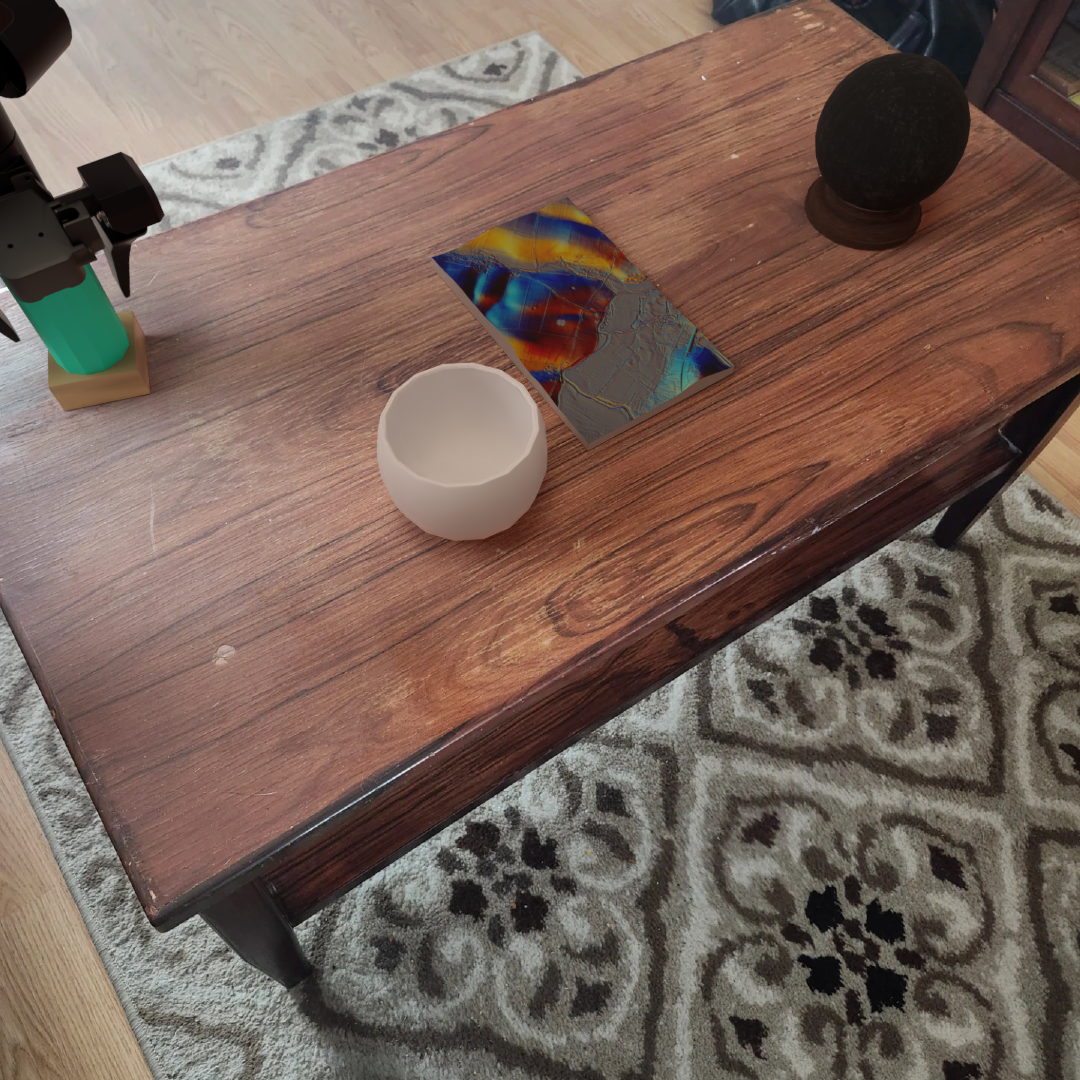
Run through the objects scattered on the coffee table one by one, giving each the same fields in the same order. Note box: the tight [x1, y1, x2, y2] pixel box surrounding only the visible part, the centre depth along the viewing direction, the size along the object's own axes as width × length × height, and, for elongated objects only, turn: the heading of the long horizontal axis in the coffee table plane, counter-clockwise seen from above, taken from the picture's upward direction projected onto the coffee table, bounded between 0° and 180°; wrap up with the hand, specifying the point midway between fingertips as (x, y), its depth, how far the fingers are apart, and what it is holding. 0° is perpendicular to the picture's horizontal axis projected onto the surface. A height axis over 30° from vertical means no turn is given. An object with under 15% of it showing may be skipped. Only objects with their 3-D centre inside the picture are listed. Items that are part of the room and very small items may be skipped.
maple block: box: [47, 310, 151, 412], centre depth 77 cm, size 7×7×3 cm
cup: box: [376, 362, 548, 542], centre depth 67 cm, size 12×12×10 cm
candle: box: [0, 263, 129, 375], centre depth 70 cm, size 6×6×12 cm
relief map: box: [431, 196, 735, 451], centre depth 81 cm, size 25×15×2 cm, turn 33°
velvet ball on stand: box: [804, 52, 972, 252], centre depth 83 cm, size 13×13×15 cm
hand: (72, 316), depth 72 cm, fingers open, 8 cm apart
